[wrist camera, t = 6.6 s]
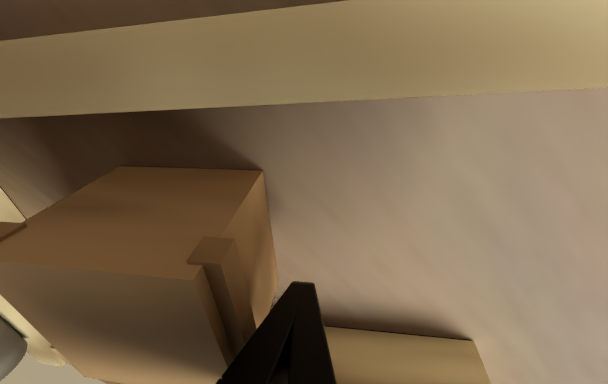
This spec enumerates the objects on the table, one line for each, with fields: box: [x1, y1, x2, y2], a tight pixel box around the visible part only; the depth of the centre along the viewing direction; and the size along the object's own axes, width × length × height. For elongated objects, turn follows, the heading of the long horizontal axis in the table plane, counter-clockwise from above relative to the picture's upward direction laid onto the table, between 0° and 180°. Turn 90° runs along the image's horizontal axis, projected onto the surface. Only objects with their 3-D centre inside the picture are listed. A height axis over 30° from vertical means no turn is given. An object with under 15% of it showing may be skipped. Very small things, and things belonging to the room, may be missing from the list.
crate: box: [0, 166, 278, 384], centre depth 9 cm, size 6×7×5 cm
